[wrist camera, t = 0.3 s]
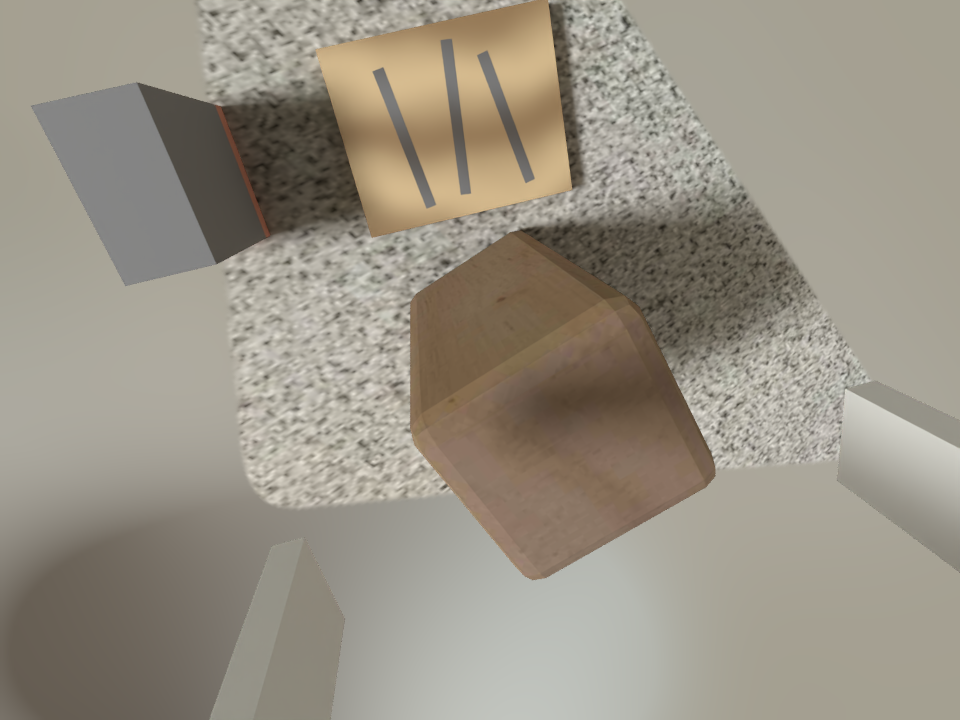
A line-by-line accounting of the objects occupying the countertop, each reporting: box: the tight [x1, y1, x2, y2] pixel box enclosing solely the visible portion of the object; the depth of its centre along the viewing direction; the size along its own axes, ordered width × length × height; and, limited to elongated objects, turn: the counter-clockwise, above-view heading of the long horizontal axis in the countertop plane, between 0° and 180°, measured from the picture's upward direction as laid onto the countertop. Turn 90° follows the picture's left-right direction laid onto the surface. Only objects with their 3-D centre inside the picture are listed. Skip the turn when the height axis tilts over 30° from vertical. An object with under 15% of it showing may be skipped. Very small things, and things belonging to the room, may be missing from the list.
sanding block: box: [31, 83, 270, 286], centre depth 27 cm, size 8×4×10 cm, turn 13°
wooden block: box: [410, 230, 715, 580], centre depth 28 cm, size 10×10×20 cm
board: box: [315, 0, 572, 238], centre depth 31 cm, size 11×14×2 cm
